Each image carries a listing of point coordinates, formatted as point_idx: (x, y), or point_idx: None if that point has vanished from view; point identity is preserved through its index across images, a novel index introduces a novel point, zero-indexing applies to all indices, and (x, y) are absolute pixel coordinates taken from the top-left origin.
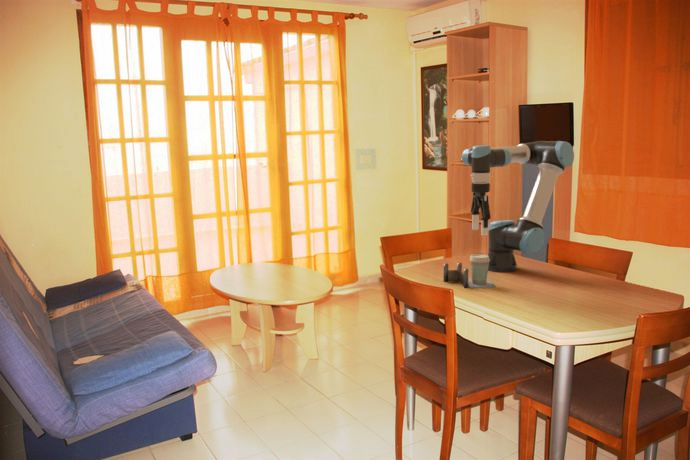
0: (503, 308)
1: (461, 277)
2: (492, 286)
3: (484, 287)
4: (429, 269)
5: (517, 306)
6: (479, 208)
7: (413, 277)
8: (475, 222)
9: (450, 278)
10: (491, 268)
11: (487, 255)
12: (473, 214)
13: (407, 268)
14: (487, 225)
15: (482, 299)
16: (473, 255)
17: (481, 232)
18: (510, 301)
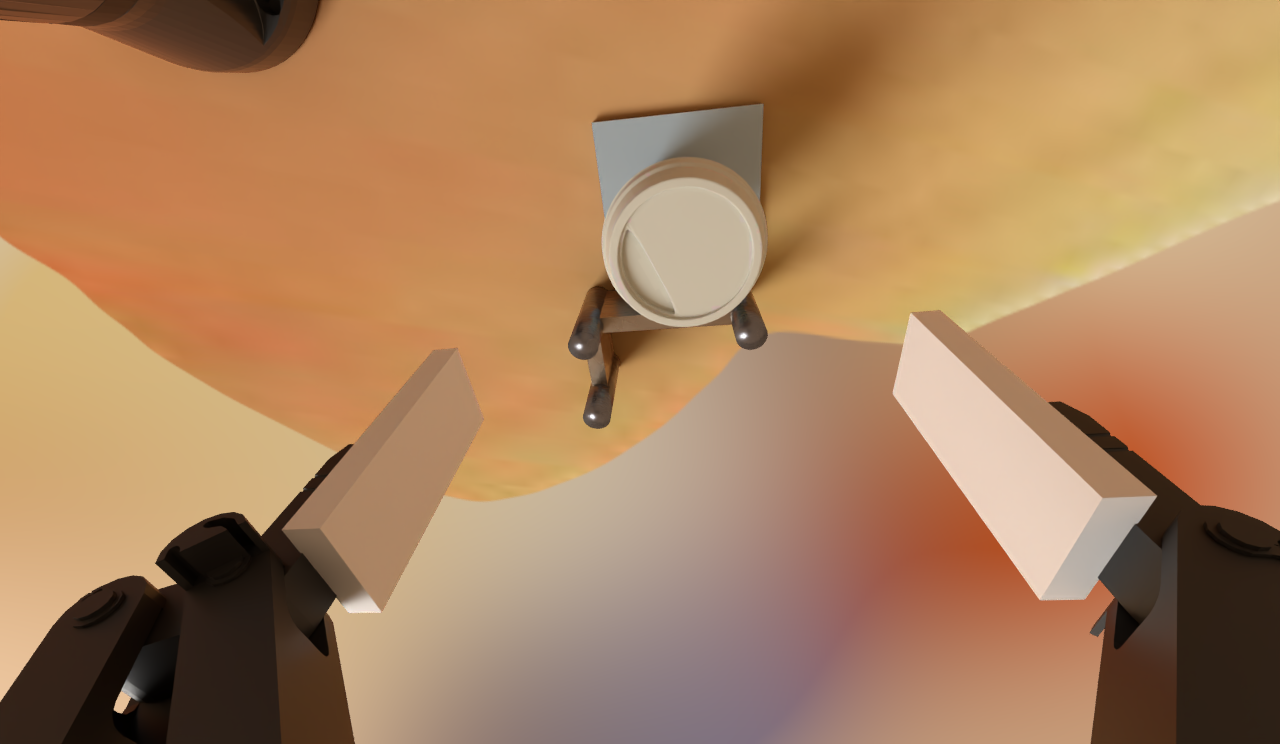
0: (1207, 161)
1: None
2: (762, 129)
3: (759, 184)
4: (377, 399)
5: (1230, 54)
6: (283, 737)
7: (541, 471)
8: (427, 458)
9: (611, 350)
10: (297, 28)
11: (674, 184)
12: (317, 600)
13: None
14: (1106, 436)
15: (985, 244)
16: (642, 300)
17: (914, 417)
18: (1104, 77)
